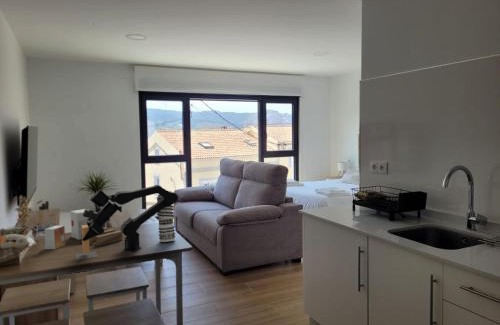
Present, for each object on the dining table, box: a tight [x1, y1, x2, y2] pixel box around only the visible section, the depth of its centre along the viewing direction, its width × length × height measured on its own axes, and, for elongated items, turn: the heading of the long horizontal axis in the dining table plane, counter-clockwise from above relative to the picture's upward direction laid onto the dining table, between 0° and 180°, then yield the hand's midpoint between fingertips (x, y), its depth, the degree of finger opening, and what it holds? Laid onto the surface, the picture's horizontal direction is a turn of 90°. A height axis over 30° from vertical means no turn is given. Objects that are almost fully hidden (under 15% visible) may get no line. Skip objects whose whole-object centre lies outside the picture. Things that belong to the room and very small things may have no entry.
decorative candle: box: [156, 194, 176, 243], centre depth 202 cm, size 9×9×25 cm
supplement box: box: [70, 208, 89, 241], centre depth 211 cm, size 9×9×15 cm
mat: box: [75, 251, 99, 261], centre depth 178 cm, size 9×9×1 cm
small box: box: [44, 224, 66, 250], centre depth 192 cm, size 8×6×10 cm
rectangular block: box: [81, 225, 91, 253], centre depth 177 cm, size 2×6×12 cm, turn 28°
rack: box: [89, 227, 123, 247], centre depth 203 cm, size 16×14×5 cm
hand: (82, 238), depth 176 cm, fingers closed on rectangular block, 6 cm apart
